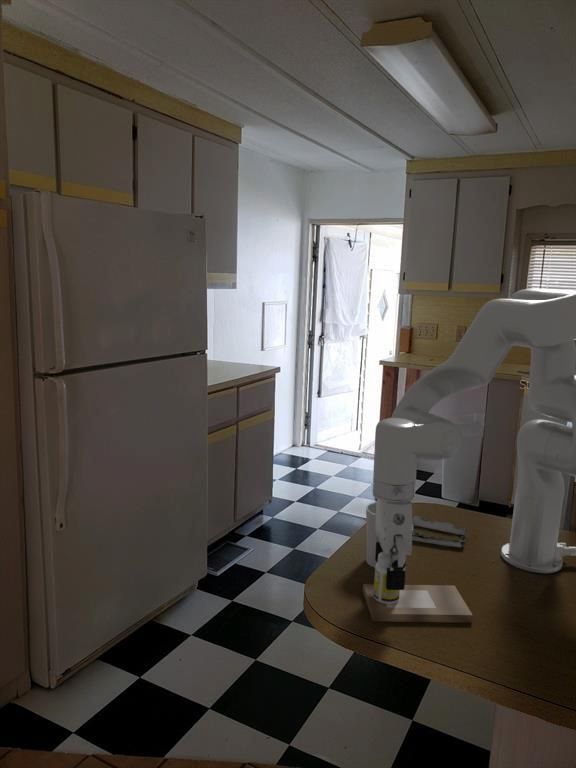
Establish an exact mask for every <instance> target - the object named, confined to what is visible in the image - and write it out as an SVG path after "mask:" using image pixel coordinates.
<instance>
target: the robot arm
mask: <svg viewBox="0 0 576 768" xmlns="http://www.w3.org/2000/svg"><path fill="white" fill-rule="evenodd" d="M575 339H576V290H566V289H565V290H563V289H562V290H561V289H550V288H549V289H548V288H525V289H524V288H523V289H520V290H517V291H516V292H513V294H512V295H511V296H510V298H494V299H491V300H489V301H487V302H486V303H484V305H483V306H482V307H481V308H480V310H479V311H478V312H477V314H476V316H475V317H474V318H473V320H472V322H471V324H470V325H469V327H468V328H467V330H466V332H465V333H464V335H463V336H462V338H461V339H460V341H459V342H458V344H457V345H456V347H455V349H454V350H453V352H452V353H451V355H450V357H448V359H447V360H445V361H444V362H443V363H440V364H438V366H436V367H434V368H432V369H431V370H429V371H428V372H427V373H425V374H423V375H422V376H421V377H419V378H418V379H417V380H416V381H414V382H413V383H412V384H411V385H410V386H409V388H408V389H407V390H406V392H404V394H403V395H402V397H401V398H400V400H399V402H398V403H397V405H396V407H395V408H394V410H393V412H392V414H391V417H389V418H384V419H381V420H380V421H378V422H377V424H376V427H375V433H374V435H375V436H374V455H373V472H372V473H373V474H372V475H373V478H372V496H373V497H374V498H375V499H376V502H377V505H376V520H375V529H376V535H377V541H379V542H376V555H375V560H376V562H378V555H379V553H381V552H384V553H385V554H386V555H388V564H389V568H387V575H386V589H387V590H403V589H404V587H405V585H406V582H405V581H406V569H407V562H406V561H407V556H411V555H412V552H413V540H412V533H413V531H412V521H413V507H412V501H414V500H415V498H416V484H417V466H418V462H419V461H420V460H422V461H424V460H425V461H430V460H431V461H437V460H438V461H439V460H440V461H442V460H446V459H449V458H451V457H452V456H454V455H455V454H456V453H458V451H459V450H460V448H461V447H462V443H463V434H462V431H461V429H460V428H459V426H458V425H457V424H456V423H454V422H453V421H452V420H449V419H447V418H444V417H442V416H439V415H436V414H433V413H430V411H431V410H432V409H433V408H434V407H435V405H438V403H439V402H441V401H442V400H443V399H445V398H447V397H449V396H451V395H455V394H457V393H462V392H467V391H471V390H474V389H475V390H476V389H478V388H481V387H485V386H487V385H488V384H489V383H491V381H492V379H493V378H494V376H495V374H496V373H497V371H498V369H499V368H500V366H501V364H502V363H503V361H504V360H505V358H506V356H507V355H508V353H509V352H510V350H511V349H512V348H513V347H523V348H529V349H530V368H529V378H528V379H529V380H528V396H527V397H528V398H527V399H528V405H529V406H530V409H531V410H533V411H534V412H536V413H537V414H540V415H542V416H545V417H546V416H547V417H549V418H554V419H557V420H560V421H564V422H568V423H571V425H572V426H569V425H567V424H563V423H559V422H556V421H553V420H552V421H551V420H547V419H540V418H539V419H531V420H528V421H526V422H525V423H524V424H523V425H522V426H521V427H520V429H519V431H518V433H517V436H516V453H517V462H518V463H517V467H518V468H517V478H516V479H517V481H516V488H515V496H514V504H513V511H512V512H513V513H512V519H511V529H510V536H509V542H508V543H505V544H503V545H502V546H501V548H500V549H501V552H500V555H501V557H502V559H503V560H504V561H505V562H507V563H508V564H509V565H511V566H513V567H515V568H518V569H520V570H523V571H527V572H530V573H531V572H532V573H538V574H552V573H555V572H558V571H560V570H561V569H562V568H563V564H564V563H563V559H562V558H563V557H565V556H573V557H574V556H575V557H576V546H567V543H566V542H558V539H559V532H560V527H561V526H560V525H561V518H562V511H563V510H562V509H563V502H564V497H565V481H564V480H565V479H564V477H563V474H566V475H569V476H572V477H575V478H576V342H575ZM393 549H396V551H395V552H393ZM392 556H397V558H396V559H397V560H395V561H394V562H393V560H392Z"/></svg>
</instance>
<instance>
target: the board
mask: <svg viewBox="0 0 576 768" xmlns="http://www.w3.org/2000/svg"><path fill="white" fill-rule="evenodd" d="M362 586H363V587H362V593H363V596H364V599H365V602H366V605H367V608H368V611H369V615H370V618H371V620H372V622H381V623H383V622H385V623H386V622H390V623H391V622H394V623H395V622H396V623H398V622H399V623H401V622H402V623H407V622H408V623H466V624H467V623H469V624H471V623H473V613H472V611H471V610H470V608H469V606H468V605H467V602H465V600H464V599H463V596H462V595H461V594H460V592H459V591H458V589H457V588H456V585H450V584H449V585H448V584H447V585H442V584H440V585H439V584H438V585H436V584H435V585H432V584H405V587H404V589H403V590H400V594H399V600H398V601H397V602H396V603H394V604H383V603H380V602H378V601H377V600H375V598H374V596H373V593H374V583H371V584H369V583H365V584H364V583H363V585H362Z"/></svg>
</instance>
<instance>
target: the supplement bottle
mask: <svg viewBox="0 0 576 768" xmlns="http://www.w3.org/2000/svg"><path fill="white" fill-rule="evenodd" d="M396 558H397V556H392V560H393V562H394V561H395V560H397V559H396ZM387 568H389V564H388V555H386V554H385V553H384V552H381V553H379V555H378V563H377V564H376V566H375V568H374V580H373V584H374V593H373V596H374V598H375V600H377V601H378V602H380V603H383V604H394V603H396V602H397V601H398V600H399V594H400V590H387V589H386V575H387Z"/></svg>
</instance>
